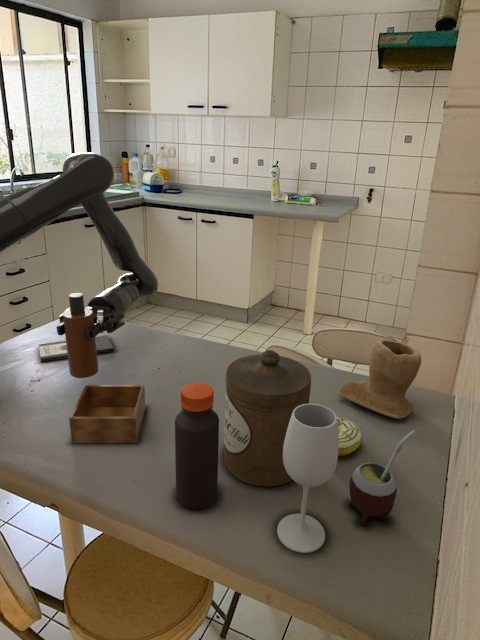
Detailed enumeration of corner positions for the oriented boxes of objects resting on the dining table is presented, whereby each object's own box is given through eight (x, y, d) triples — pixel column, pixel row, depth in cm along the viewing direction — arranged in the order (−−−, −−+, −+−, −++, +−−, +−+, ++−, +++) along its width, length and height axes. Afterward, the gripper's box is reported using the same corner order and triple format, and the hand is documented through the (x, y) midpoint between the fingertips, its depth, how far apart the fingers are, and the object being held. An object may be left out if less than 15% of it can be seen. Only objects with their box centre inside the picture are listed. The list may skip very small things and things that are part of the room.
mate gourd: (339, 517, 73) (351, 439, 67) (355, 488, 79) (368, 414, 74) (386, 539, 70) (403, 458, 64) (399, 506, 76) (416, 429, 70)
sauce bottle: (66, 378, 100) (56, 299, 93) (74, 364, 105) (65, 289, 98) (94, 378, 100) (86, 300, 93) (101, 364, 105) (94, 290, 98)
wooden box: (71, 443, 88) (68, 418, 86) (87, 407, 99) (85, 384, 97) (136, 443, 89) (135, 418, 86) (145, 407, 100) (144, 385, 98)
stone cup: (421, 406, 104) (434, 346, 99) (398, 428, 96) (411, 364, 90) (360, 382, 114) (369, 326, 108) (335, 400, 105) (343, 341, 100)
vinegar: (221, 484, 79) (224, 382, 71) (211, 514, 73) (213, 405, 65) (183, 478, 80) (182, 376, 73) (170, 506, 74) (167, 398, 66)
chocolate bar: (113, 348, 124) (40, 358, 116) (113, 351, 124) (41, 362, 117) (107, 335, 131) (38, 344, 124) (107, 338, 132) (39, 347, 124)
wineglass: (315, 510, 74) (329, 398, 66) (334, 549, 67) (352, 429, 60) (270, 517, 73) (279, 402, 65) (284, 557, 66) (297, 435, 58)
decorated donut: (327, 420, 98) (329, 405, 97) (370, 445, 90) (373, 429, 89) (293, 438, 92) (295, 422, 90) (336, 467, 84) (339, 450, 83)
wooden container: (222, 435, 92) (225, 333, 84) (296, 434, 93) (306, 334, 85) (224, 488, 78) (227, 373, 70) (311, 487, 79) (324, 374, 71)
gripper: (81, 287, 111) (39, 312, 96) (137, 293, 109) (103, 320, 93) (84, 316, 114) (44, 345, 99) (139, 323, 112) (106, 353, 96)
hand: (73, 333), depth 96 cm, fingers closed on sauce bottle, 6 cm apart
